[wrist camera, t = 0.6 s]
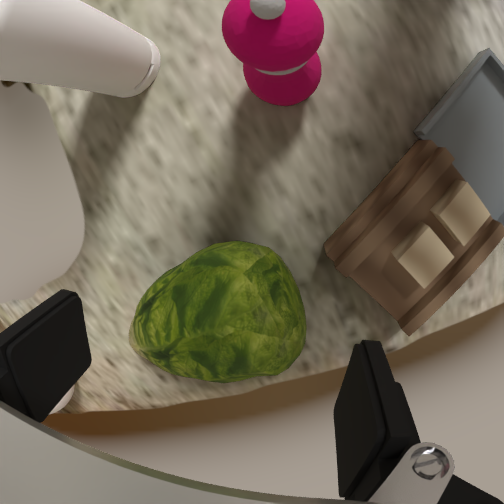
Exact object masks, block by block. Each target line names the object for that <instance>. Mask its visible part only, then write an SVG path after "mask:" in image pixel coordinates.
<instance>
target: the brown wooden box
mask: <svg viewBox="0 0 504 504" xmlns="http://www.w3.org/2000/svg"><path fill="white" fill-rule="evenodd" d="M454 160H455V158H454V157H453V156H452V155H451V153H450V152H449V151H448V150H447V149H446V147H438V146H437V145H436V144H435V143H434V142H433V141H432V140H417V141H416V143H415V144H414V145H413V146H412V147H411V148H410V150H409V151H408V152H407V153H406V154H405V155H404V156H403V158H402V159H401V160H400V161H399V162H398V163H397V164H396V165H395V167H394V168H393V169H392V170H391V171H390V172H389V173H388V174H387V176H386V177H385V178H384V179H383V180H382V181H381V182H380V183H379V185H378V186H377V187H376V188H375V189H374V190H373V191H372V192H371V193H370V194H369V196H368V197H367V198H366V199H365V200H364V201H363V202H362V203H361V204H360V205H359V207H358V208H357V209H356V210H355V211H354V212H353V213H352V214H351V215H350V216H349V217H348V218H347V219H346V221H345V222H344V223H343V224H342V225H341V226H340V227H339V228H338V229H337V230H336V231H335V232H334V233H333V234H332V235H331V237H330V238H329V239H328V240H327V241H326V242H325V243H324V247H325V251H326V255H327V256H328V257H329V258H330V259H331V260H332V261H333V262H334V265H335V268H336V269H337V270H338V271H339V272H340V273H341V274H342V275H343V276H345V277H346V278H347V277H348V276H350V277H351V278H352V279H353V280H354V281H355V282H356V283H357V284H359V285H360V286H361V287H362V288H363V289H364V290H365V291H366V292H367V293H368V294H369V295H370V296H371V297H373V298H374V299H375V300H376V301H377V302H378V303H379V304H380V305H381V306H382V307H383V308H384V309H385V310H386V311H387V312H389V313H390V314H391V315H392V316H393V317H394V318H395V319H396V320H397V321H398V323H399V325H400V327H401V329H402V330H403V331H404V332H405V333H406V334H407V335H408V336H410V335H411V334H412V333H414V332H415V331H416V330H417V329H418V328H419V327H420V326H421V325H422V324H423V323H424V322H426V321H427V320H428V319H429V318H430V317H431V316H432V315H433V314H434V313H435V312H436V311H437V310H438V309H439V308H440V307H441V306H442V305H443V304H444V303H445V302H446V301H447V300H448V299H449V298H450V297H451V296H452V295H453V294H454V293H455V292H456V291H457V290H458V289H459V288H460V287H461V286H462V284H463V283H464V282H465V281H466V280H467V279H468V278H469V277H470V276H471V275H472V274H473V273H474V271H475V270H476V269H477V268H478V267H479V266H480V265H481V263H482V262H483V261H484V260H485V259H486V258H487V257H488V255H489V254H490V253H491V252H492V251H493V249H494V248H495V247H496V246H497V245H498V243H499V242H500V241H501V240H502V238H503V237H504V227H503V225H502V223H500V222H498V221H496V220H494V219H493V218H492V217H491V215H490V216H489V217H488V219H487V220H486V221H485V222H484V224H483V225H482V226H481V227H480V228H479V230H478V231H477V232H476V233H475V234H474V235H473V237H472V238H471V239H470V240H469V241H468V242H467V244H466V245H465V246H463V245H461V244H460V243H458V242H457V241H456V240H454V239H453V238H452V236H451V235H450V234H449V233H448V231H447V230H446V229H445V228H444V226H443V225H442V224H441V223H440V222H439V220H438V219H437V218H436V217H435V216H434V214H433V213H432V212H431V211H430V209H431V208H432V207H433V206H434V205H435V203H436V202H437V201H438V200H439V199H440V198H441V197H442V195H443V194H444V193H445V192H446V191H447V189H448V188H449V187H450V186H451V185H452V184H453V182H454V181H455V180H456V179H458V180H462V181H465V179H464V178H463V177H462V176H461V174H460V173H459V172H458V170H457V169H456V168H455V167H454V165H453V164H452V162H453V161H454ZM465 182H466V181H465ZM419 221H422V222H423V223H425V224H426V225H428V226H429V227H430V228H431V229H432V230H433V232H434V233H435V234H436V235H437V236H438V237H439V239H440V240H441V241H442V242H443V244H444V245H445V246H446V247H447V248H448V250H449V251H450V252H451V253H452V255H453V256H454V258H453V259H452V260H451V262H450V263H449V264H448V265H447V266H446V267H445V268H444V269H443V270H442V271H441V272H440V273H439V274H438V275H437V276H436V277H435V278H434V280H433V281H432V282H431V283H430V284H429V285H428V286H427V287H426V288H425V289H424V288H423V287H422V286H421V285H420V284H419V283H418V282H417V281H416V280H415V278H414V277H413V276H412V275H411V274H410V273H409V272H408V271H407V270H406V269H405V268H404V267H403V266H402V265H401V264H400V263H399V262H398V261H397V259H396V258H395V257H394V256H393V254H392V253H391V252H392V250H393V249H394V248H395V247H396V246H397V245H398V244H399V243H400V242H401V241H402V240H403V239H404V238H405V237H406V236H407V235H408V234H409V232H410V231H411V230H412V229H413V228H414V227H415V226H416V225H417V224H418V223H419Z"/></svg>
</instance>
